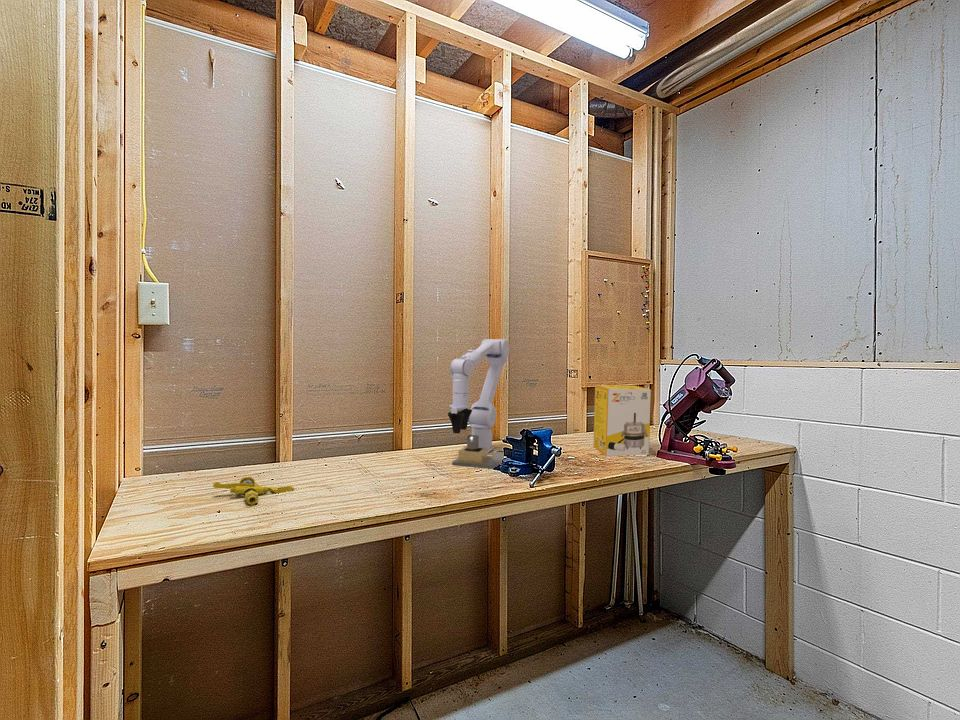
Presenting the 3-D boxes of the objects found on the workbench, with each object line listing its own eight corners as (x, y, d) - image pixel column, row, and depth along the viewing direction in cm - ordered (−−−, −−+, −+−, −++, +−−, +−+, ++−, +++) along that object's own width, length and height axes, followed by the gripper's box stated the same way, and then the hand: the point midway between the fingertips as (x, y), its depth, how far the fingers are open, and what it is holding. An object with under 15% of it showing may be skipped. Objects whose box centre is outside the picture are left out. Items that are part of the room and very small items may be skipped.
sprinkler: (216, 492, 118) (213, 475, 131) (213, 508, 118) (211, 490, 131) (301, 492, 128) (290, 476, 141) (298, 508, 128) (288, 490, 141)
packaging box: (632, 447, 202) (634, 385, 201) (648, 456, 186) (651, 389, 185) (593, 446, 201) (595, 384, 200) (606, 456, 185) (608, 388, 184)
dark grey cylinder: (469, 457, 173) (469, 434, 173) (479, 458, 172) (480, 435, 172) (464, 460, 170) (465, 436, 169) (475, 461, 168) (476, 437, 168)
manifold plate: (462, 457, 178) (463, 444, 178) (512, 461, 173) (512, 448, 173) (452, 465, 166) (452, 451, 166) (505, 469, 162) (505, 456, 162)
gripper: (456, 390, 185) (455, 427, 185) (443, 394, 171) (442, 433, 171) (474, 391, 183) (473, 428, 183) (462, 395, 169) (462, 435, 169)
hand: (459, 431), depth 177 cm, fingers open, 7 cm apart
